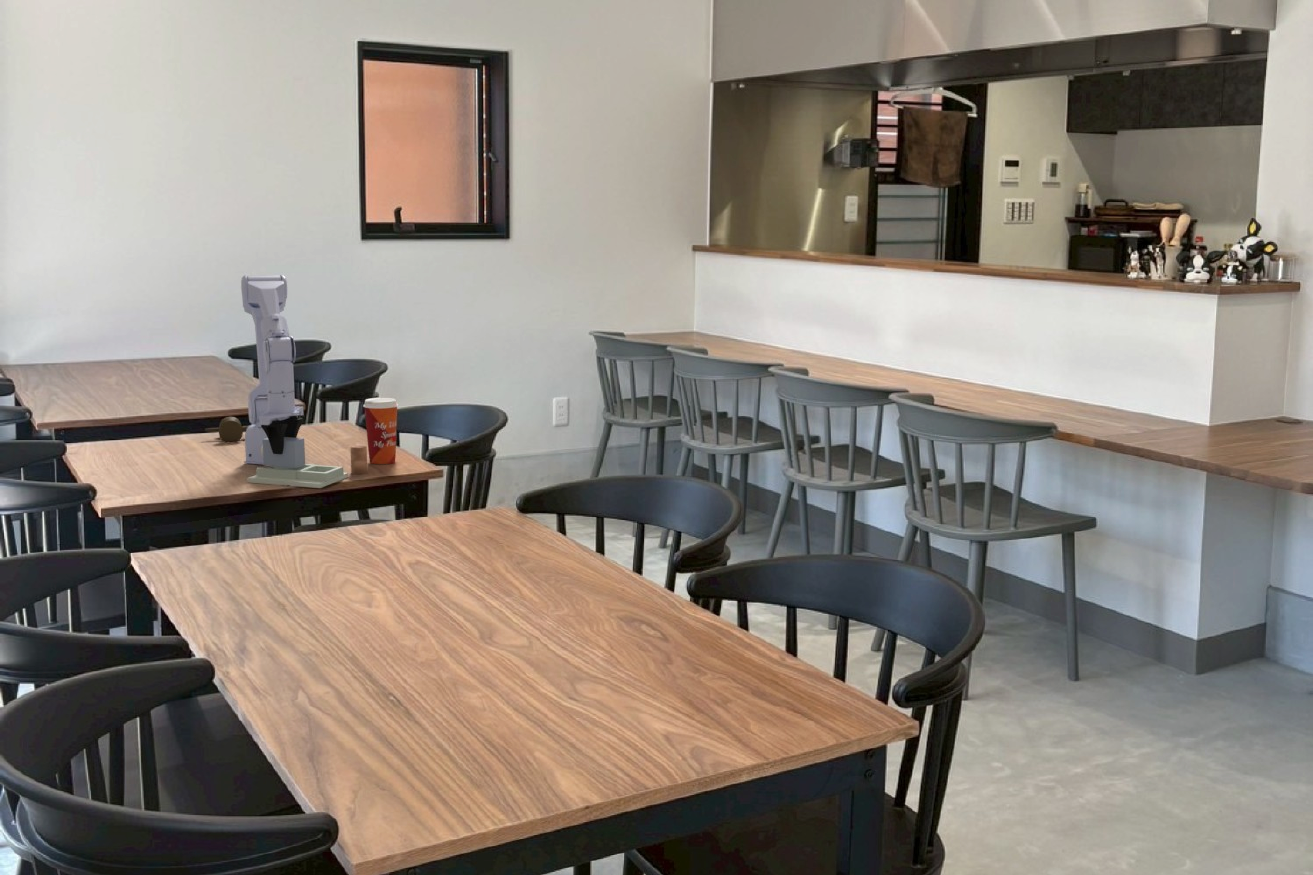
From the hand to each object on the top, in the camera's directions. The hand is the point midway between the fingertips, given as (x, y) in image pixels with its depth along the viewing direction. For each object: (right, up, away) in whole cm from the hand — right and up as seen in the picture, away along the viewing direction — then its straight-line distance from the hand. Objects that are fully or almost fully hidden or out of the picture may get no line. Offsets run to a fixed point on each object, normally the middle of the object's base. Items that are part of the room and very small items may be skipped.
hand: (283, 452), depth 285 cm
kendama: (-24, +2, +49) cm, 54 cm away
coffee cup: (+18, -3, +21) cm, 27 cm away
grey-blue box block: (0, -3, +1) cm, 3 cm away
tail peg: (+15, -5, +8) cm, 18 cm away
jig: (+3, -6, 0) cm, 7 cm away
